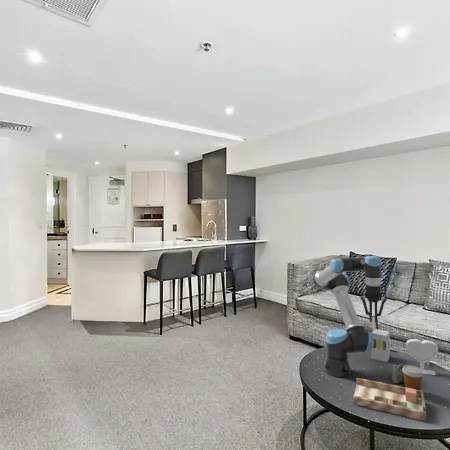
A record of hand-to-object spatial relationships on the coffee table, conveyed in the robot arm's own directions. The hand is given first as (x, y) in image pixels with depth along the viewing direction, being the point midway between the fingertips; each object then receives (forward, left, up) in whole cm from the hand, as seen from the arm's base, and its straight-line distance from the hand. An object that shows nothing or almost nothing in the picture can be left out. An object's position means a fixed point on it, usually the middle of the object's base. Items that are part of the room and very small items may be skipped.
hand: (373, 328), depth 172 cm
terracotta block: (+17, -14, -28) cm, 35 cm away
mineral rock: (+14, +9, -31) cm, 35 cm away
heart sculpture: (+24, +26, -31) cm, 47 cm away
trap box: (+7, -17, -30) cm, 36 cm away
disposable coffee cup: (+18, -1, -31) cm, 36 cm away
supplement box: (+2, +35, -31) cm, 47 cm away
